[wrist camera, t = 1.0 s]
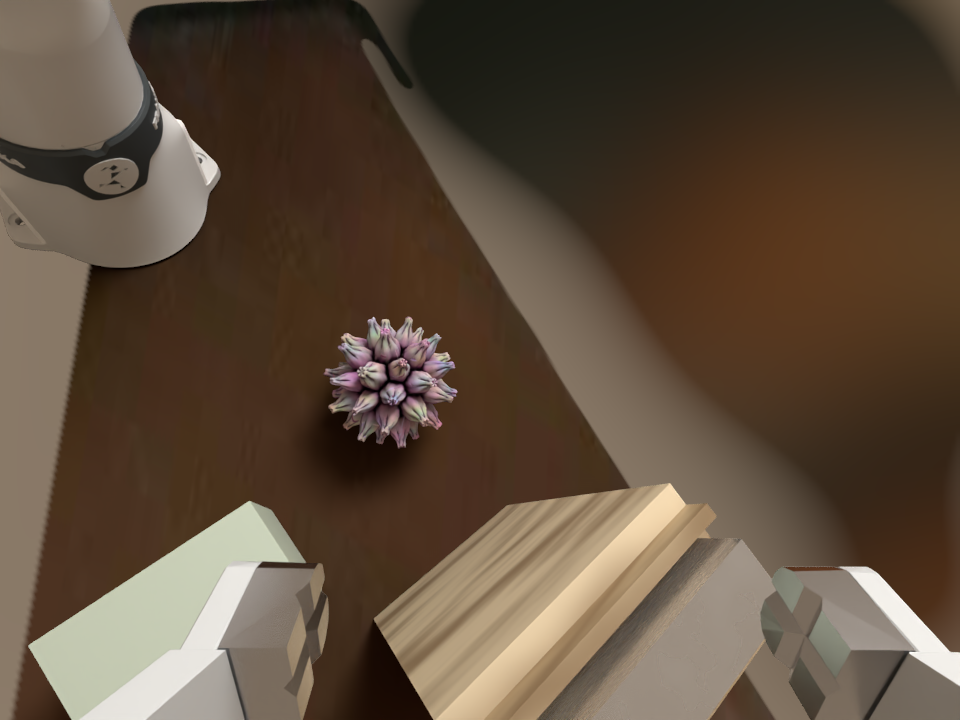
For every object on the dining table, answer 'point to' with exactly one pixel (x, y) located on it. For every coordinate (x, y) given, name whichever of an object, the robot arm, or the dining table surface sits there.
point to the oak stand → (535, 599)
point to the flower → (390, 382)
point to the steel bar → (676, 642)
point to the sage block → (152, 609)
